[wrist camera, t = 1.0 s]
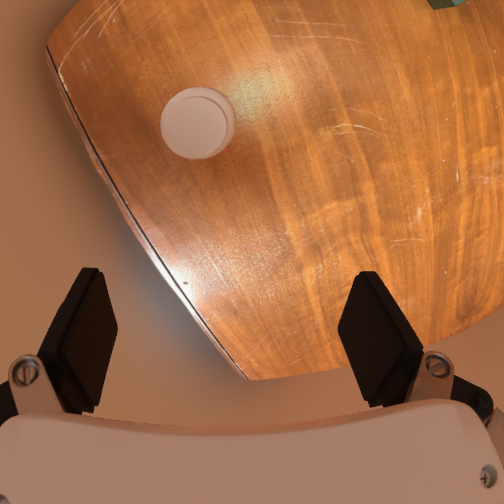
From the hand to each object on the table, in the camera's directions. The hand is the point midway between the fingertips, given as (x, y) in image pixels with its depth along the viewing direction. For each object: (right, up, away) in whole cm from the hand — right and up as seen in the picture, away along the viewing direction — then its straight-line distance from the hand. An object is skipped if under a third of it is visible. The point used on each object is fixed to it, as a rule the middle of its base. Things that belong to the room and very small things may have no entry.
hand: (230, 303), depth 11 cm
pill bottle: (-4, +14, +15) cm, 21 cm away
